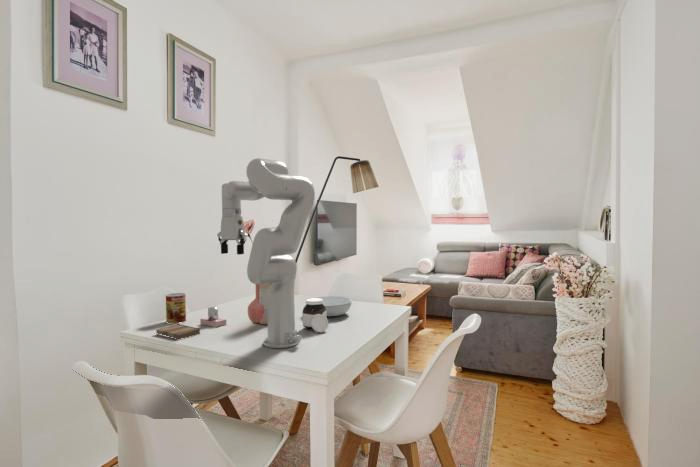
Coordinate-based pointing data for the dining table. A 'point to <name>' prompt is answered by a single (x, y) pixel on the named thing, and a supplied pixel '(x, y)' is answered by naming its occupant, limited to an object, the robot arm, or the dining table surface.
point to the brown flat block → (178, 331)
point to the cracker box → (264, 301)
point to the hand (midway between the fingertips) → (232, 253)
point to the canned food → (175, 308)
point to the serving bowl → (336, 304)
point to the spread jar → (315, 315)
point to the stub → (213, 318)
